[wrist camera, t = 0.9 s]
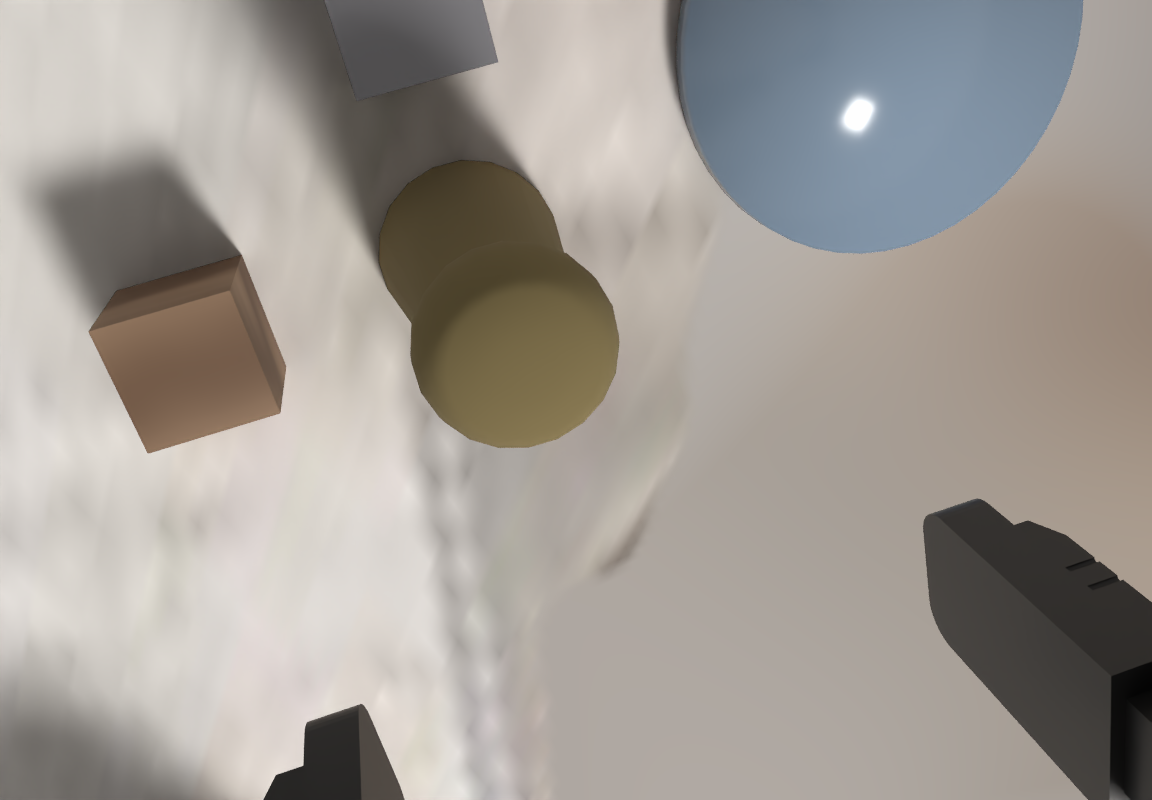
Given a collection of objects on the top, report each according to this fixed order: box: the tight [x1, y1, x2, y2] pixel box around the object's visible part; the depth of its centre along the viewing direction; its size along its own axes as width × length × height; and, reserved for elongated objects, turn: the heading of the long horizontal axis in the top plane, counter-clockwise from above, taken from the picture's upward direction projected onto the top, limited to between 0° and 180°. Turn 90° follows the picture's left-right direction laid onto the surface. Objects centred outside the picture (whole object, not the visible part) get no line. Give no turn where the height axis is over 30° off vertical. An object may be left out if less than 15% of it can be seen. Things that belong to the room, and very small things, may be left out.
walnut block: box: [89, 255, 286, 453], centre depth 31 cm, size 4×4×4 cm
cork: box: [379, 160, 619, 448], centre depth 28 cm, size 6×6×11 cm
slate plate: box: [676, 0, 1083, 253], centre depth 33 cm, size 14×14×1 cm
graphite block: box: [324, 0, 498, 101], centre depth 28 cm, size 4×4×4 cm
